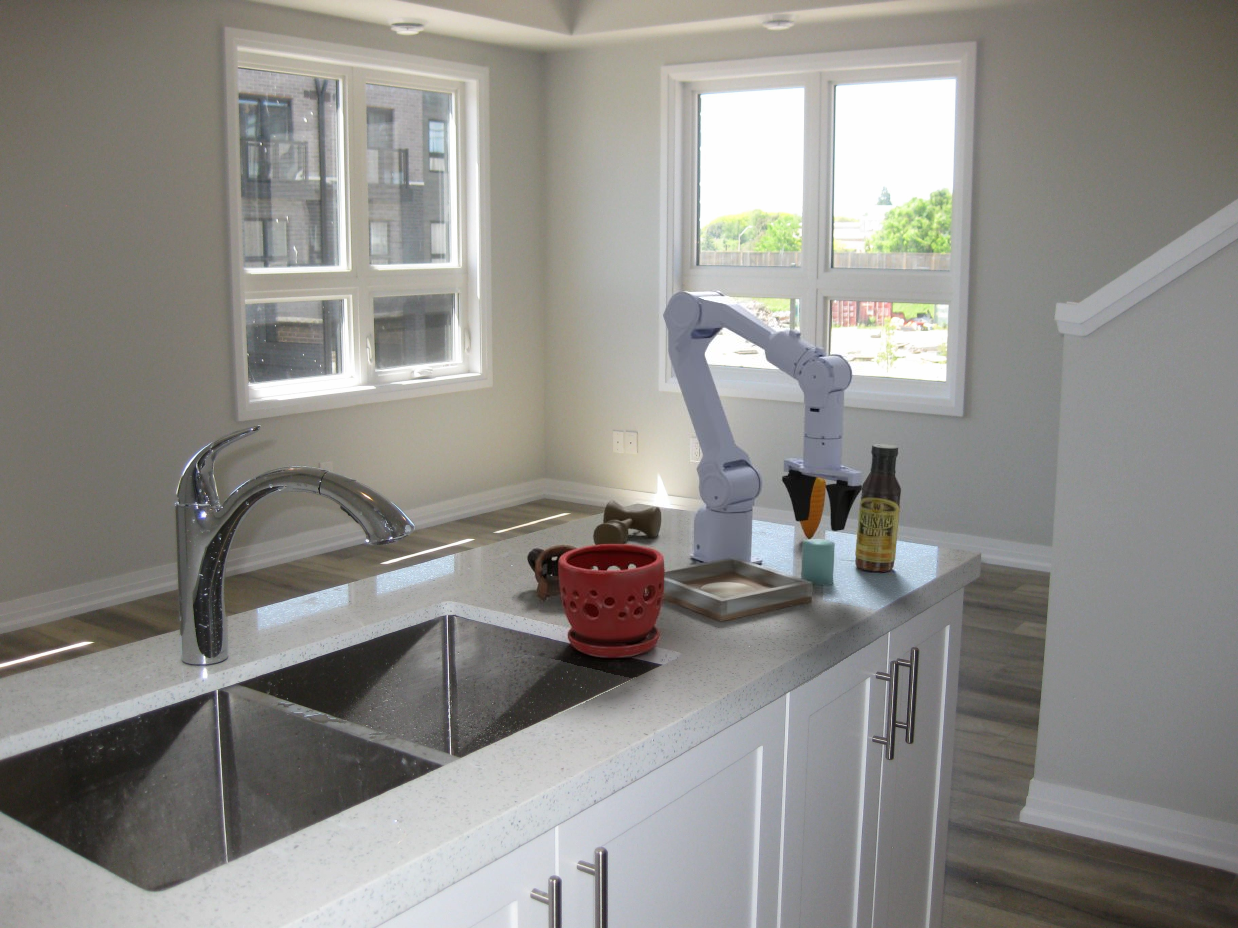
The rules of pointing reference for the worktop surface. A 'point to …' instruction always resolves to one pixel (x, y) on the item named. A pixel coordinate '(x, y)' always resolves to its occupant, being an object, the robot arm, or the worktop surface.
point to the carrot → (815, 508)
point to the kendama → (626, 523)
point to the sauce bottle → (879, 512)
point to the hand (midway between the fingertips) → (819, 525)
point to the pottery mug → (547, 569)
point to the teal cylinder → (818, 561)
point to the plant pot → (612, 598)
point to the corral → (733, 588)
